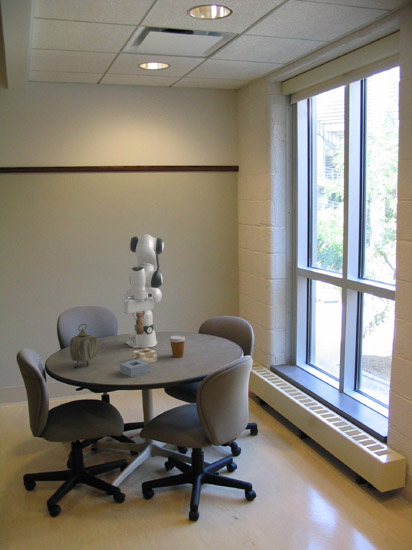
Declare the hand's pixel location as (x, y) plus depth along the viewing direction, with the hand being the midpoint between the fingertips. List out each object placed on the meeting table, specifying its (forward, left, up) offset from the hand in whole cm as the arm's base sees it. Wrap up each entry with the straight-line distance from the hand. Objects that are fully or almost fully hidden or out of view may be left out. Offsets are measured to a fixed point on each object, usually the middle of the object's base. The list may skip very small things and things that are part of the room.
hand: (139, 319), depth 323 cm
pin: (0, 0, -9) cm, 9 cm away
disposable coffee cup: (0, +27, -28) cm, 39 cm away
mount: (-6, +7, -28) cm, 29 cm away
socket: (+8, -9, -28) cm, 30 cm away
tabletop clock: (-24, -23, -28) cm, 44 cm away
